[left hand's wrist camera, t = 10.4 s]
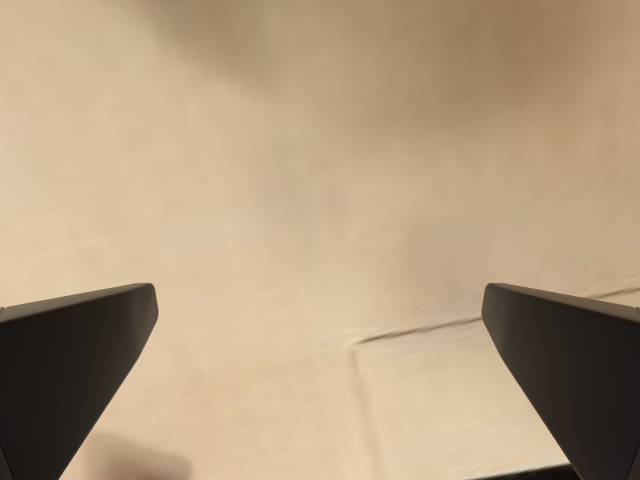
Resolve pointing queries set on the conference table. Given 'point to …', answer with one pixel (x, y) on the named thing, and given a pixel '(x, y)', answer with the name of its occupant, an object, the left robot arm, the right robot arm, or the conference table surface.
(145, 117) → the conference table surface
